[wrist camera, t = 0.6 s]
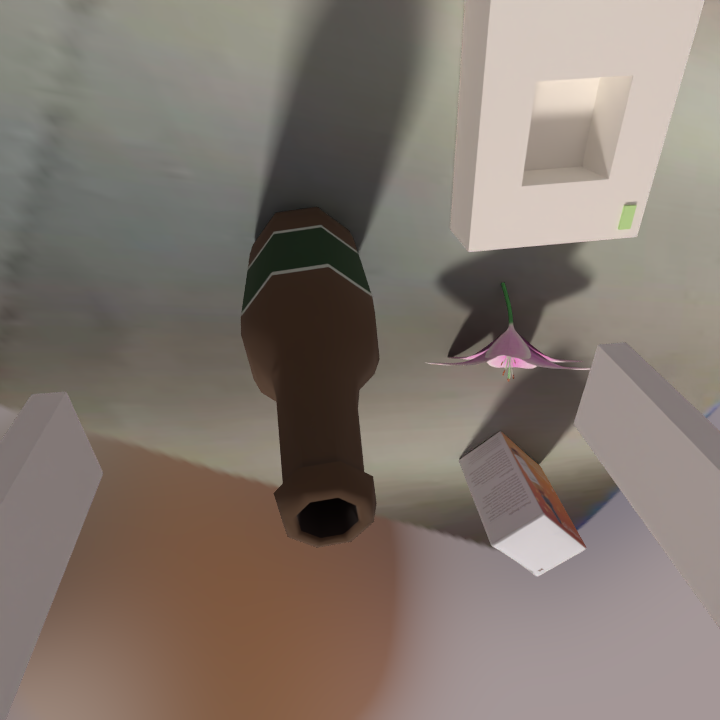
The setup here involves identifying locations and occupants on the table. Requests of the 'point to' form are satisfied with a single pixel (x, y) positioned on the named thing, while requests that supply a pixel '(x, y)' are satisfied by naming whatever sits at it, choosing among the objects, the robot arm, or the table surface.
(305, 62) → the table surface
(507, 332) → the lily
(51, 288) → the table surface
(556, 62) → the port
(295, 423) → the beer bottle
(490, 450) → the small box
